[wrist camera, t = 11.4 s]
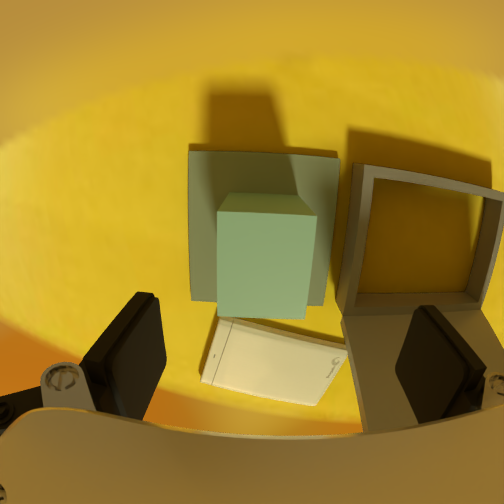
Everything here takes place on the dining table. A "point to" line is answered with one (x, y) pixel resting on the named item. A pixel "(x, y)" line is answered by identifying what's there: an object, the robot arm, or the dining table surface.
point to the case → (371, 304)
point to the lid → (387, 352)
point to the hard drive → (271, 362)
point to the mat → (257, 181)
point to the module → (264, 255)
